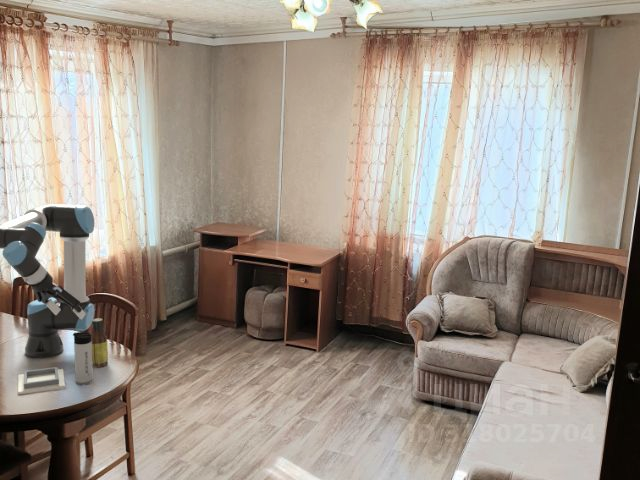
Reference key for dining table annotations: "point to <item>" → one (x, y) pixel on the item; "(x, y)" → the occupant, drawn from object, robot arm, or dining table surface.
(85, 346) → the travel mug
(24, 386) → the mug tray
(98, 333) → the sauce bottle
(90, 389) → the dining table surface
